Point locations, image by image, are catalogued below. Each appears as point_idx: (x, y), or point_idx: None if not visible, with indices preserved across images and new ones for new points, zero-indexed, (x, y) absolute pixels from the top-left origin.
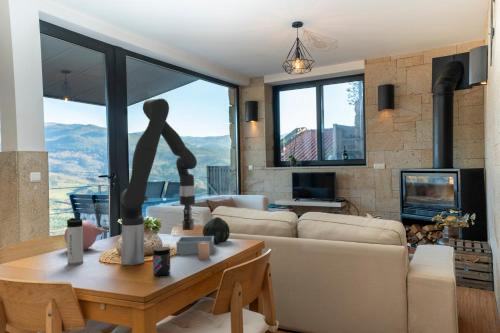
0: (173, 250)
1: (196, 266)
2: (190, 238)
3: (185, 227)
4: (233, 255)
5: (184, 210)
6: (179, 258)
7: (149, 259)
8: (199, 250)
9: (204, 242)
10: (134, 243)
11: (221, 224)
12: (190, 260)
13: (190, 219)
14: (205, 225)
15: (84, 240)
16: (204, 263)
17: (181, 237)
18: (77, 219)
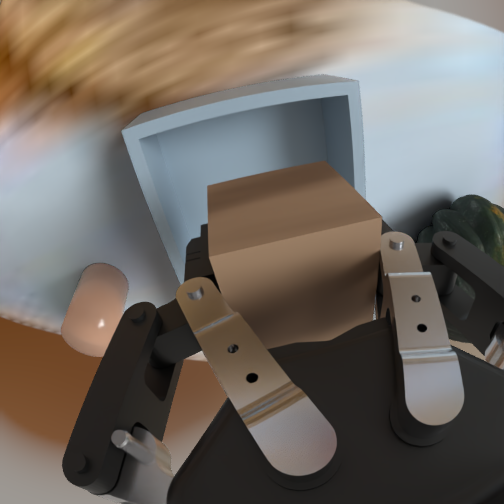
0: (253, 47)
1: (6, 289)
2: (348, 163)
3: (202, 237)
4: (185, 358)
5: (74, 478)
6: (63, 174)
7: (18, 29)
8: (71, 301)
9: (105, 337)
10: None
11: (454, 335)
12: (53, 242)
13: (297, 327)
14: (498, 247)
15: None
16: (44, 303)
17: (347, 95)
18: None
